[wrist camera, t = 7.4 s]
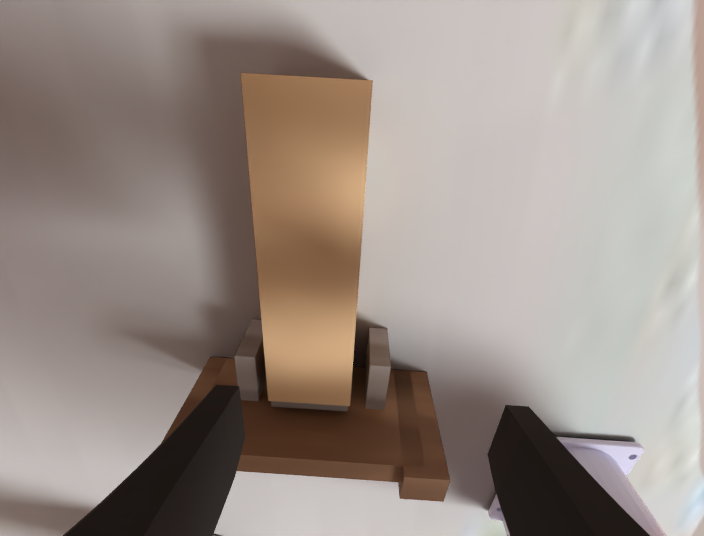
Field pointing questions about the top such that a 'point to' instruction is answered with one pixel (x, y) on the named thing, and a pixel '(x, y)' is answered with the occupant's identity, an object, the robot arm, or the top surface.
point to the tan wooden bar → (307, 229)
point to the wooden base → (336, 422)
